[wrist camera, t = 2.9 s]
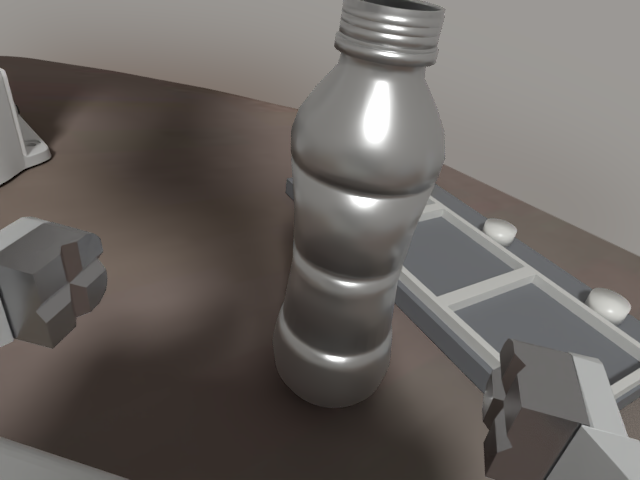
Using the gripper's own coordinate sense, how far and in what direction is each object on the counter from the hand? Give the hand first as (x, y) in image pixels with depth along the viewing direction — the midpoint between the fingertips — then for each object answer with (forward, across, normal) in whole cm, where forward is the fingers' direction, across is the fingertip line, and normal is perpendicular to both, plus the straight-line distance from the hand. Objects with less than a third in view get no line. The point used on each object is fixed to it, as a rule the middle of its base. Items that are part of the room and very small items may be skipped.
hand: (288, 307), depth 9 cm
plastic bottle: (+12, 0, +16) cm, 20 cm away
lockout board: (+27, -6, +16) cm, 32 cm away
